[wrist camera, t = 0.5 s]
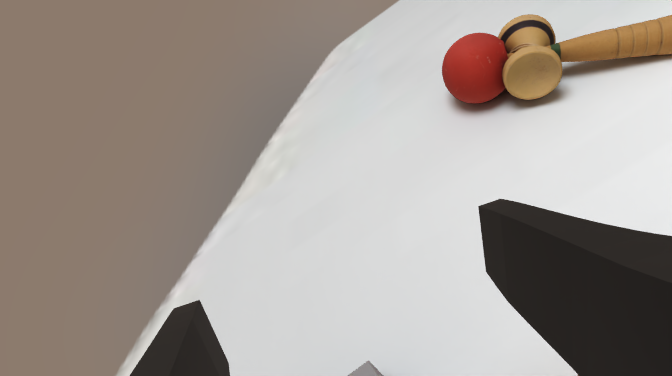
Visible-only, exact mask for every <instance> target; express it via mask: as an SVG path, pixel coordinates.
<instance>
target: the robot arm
mask: <svg viewBox="0 0 672 376" xmlns="http://www.w3.org/2000/svg"><path fill="white" fill-rule="evenodd" d="M479 215H480V223H481V232H482V240H483V249H484V258H485V266H486V272H487V274H488V275H489V276H490V278H491V279H492V281H493V282H494V283H495V285H496V286H497V288H498V289H499V290H500V292H501V293H502V294H503V296H504V297H505V298H506V299H507V301H508V302H509V303H510V304H511V305H512V306H513V307H514V309H515V310H516V311H517V312H518V313H519V314H520V315H521V316H522V317H523V318H524V319H525V320H526V321H527V322H528V323H529V324H530V325H531V326H532V327H533V328H534V329H535V330H536V331H537V332H538V333H539V334H540V335H541V336H542V338H543V339H544V340H545V341H546V342H547V343H548V344H549V345H550V346H551V347H552V348H553V349H554V350H555V351H556V352H557V353H558V354H559V355H560V356H561V357H562V358H563V359H564V360H565V361H566V362H567V363H568V364H569V365H570V366H571V367H572V368H573V369H574V370H575V371H576V373H577V374H578V375H579V376H672V236H667V235H660V234H653V233H648V232H642V231H636V230H631V229H626V228H621V227H617V226H612V225H607V224H602V223H598V222H594V221H589V220H585V219H581V218H577V217H573V216H569V215H565V214H561V213H557V212H554V211H550V210H546V209H542V208H538V207H535V206H531V205H527V204H523V203H519V202H514V201H509V200H504V199H499V200H496V201H493V202H490V203H487V204H484V205H481V206H479ZM130 376H230V372H229V363H228V361H227V359H226V356H225V354H224V352H223V350H222V348H221V346H220V343H219V341H218V339H217V337H216V335H215V332H214V330H213V328H212V326H211V324H210V322H209V319H208V317H207V315H206V313H205V311H204V309H203V306H202V304H201V302H200V300H198V301H195V302H192V303H189V304H186V305H183V306H180V307H177V308H174V309H173V311H172V312H171V313H170V315H169V316H168V318H167V319H166V321H165V322H164V324H163V326H162V327H161V329H160V330H159V332H158V333H157V335H156V336H155V338H154V340H153V341H152V343H151V344H150V346H149V347H148V349H147V350H146V352H145V353H144V355H143V356H142V358H141V359H140V361H139V362H138V364H137V365H136V367H135V368H134V370H133V371H132V373H131V374H130Z"/></svg>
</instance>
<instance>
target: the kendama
mask: <svg viewBox="0 0 672 376" xmlns="http://www.w3.org/2000/svg"><path fill="white" fill-rule="evenodd" d="M663 54H672V15H670V16H666V17H662V18H658V19H656V20H650V21H645V22H642V23H636V24H632V25H629V26H623V27H618V28H616V29H609V30H604V31H600V32H596V33H591V34H588V35H584V36H580V37H577V38H573V39H570V40H566V41H563V42H560V43H556V44H555V34H554V31H553V29H552V27H551V25H550V23H549V22H548V21H547V20H546V19H544V18H543V17H540V16H538V15H529V14H528V15H522V16H519V17H516V18H514V19H513V20H511V21H510V22H508V23H507V24H506V25H505V26H504V27H503V29H502V30H501V32H500V34H499V36H498V37H496V36H494V35H491V34H487V33H473V34H469V35H466V36H464V37H462V38H461V39H459V40H458V41H456V42H455V43H454V44H453V45H452V46H451V47H450V48H449V50H448V51H447V53H446V55H445V57H444V61H443V66H442V75H443V80H444V83H445V86H446V87H447V89H448V90H449V92H450V93H451V94H452V95H453V96H454V97H456V98H457V99H459V100H461V101H463V102H467V103H482V102H486V101H489V100H491V99H493V98H495V97H496V96H498V95H499V94H500V93H501V92H502V91H503V90H505V89H507V91H508V92H509V93H510V94H511V95H513V96H515V97H517V98H520V99H526V100H531V99H537V98H540V97H543V96H545V95H547V94H548V93H550V92H551V91H552V90H554V89H555V88H556V87H557V85H558V84H559V82H560V79H561V76H562V63H561V62H577V61H578V62H580V61H596V60H607V59H614V58H616V59H617V58H626V57H638V56H650V55H663ZM505 87H506V88H505Z"/></svg>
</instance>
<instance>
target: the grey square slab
mask: <svg viewBox="0 0 672 376" xmlns="http://www.w3.org/2000/svg"><path fill="white" fill-rule="evenodd" d="M348 376H383V375H382V374H381V373H380V372H379V371H378V370H377V369H376V368H375V367H374V366H373V365H372V364H371V362H370V361H369V360H368V361H367V362H366V363H364V364H363V365H362V366H360V367H359V368H358V369H356V370H355V371H353V372H352V373H351V374H349V375H348Z"/></svg>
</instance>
